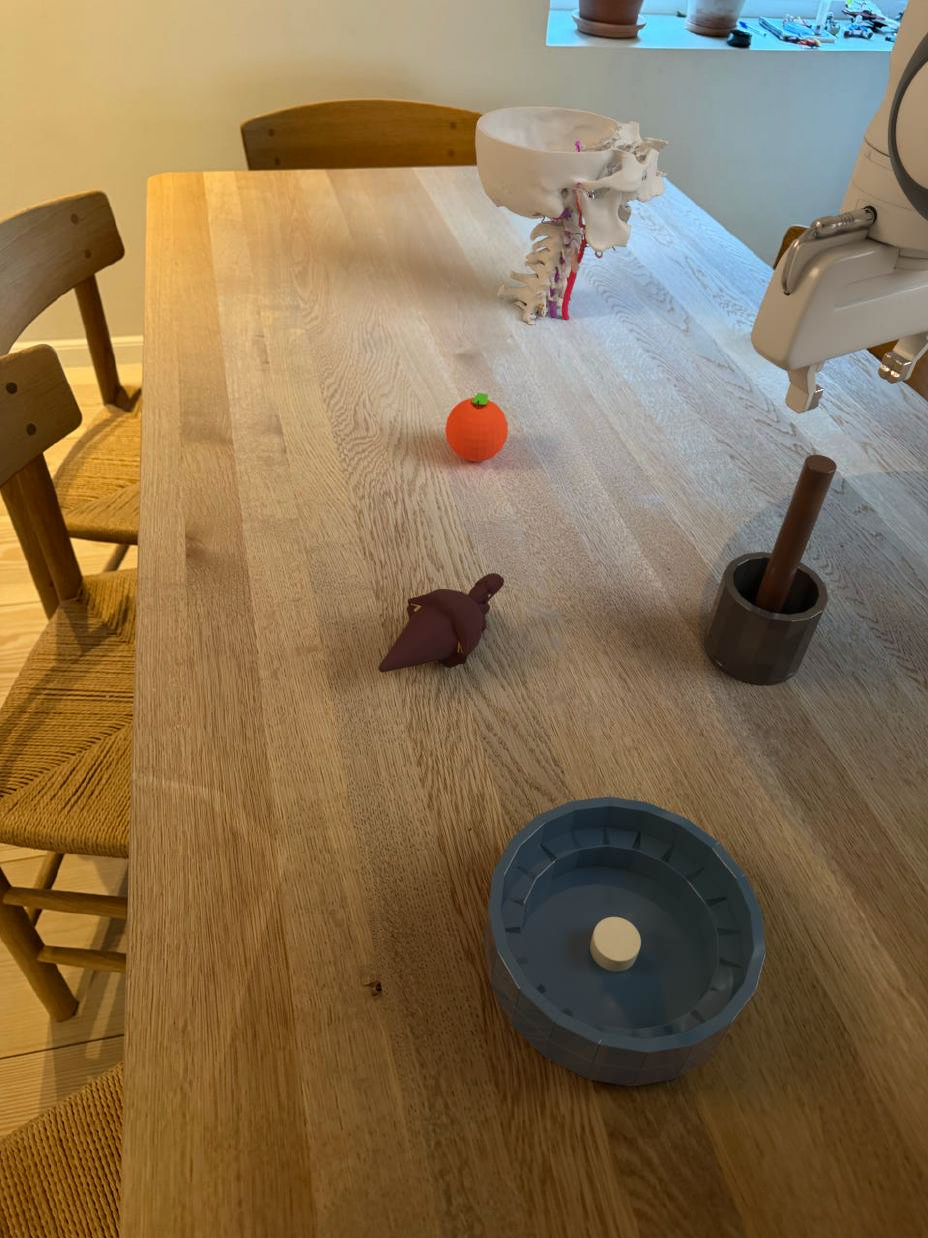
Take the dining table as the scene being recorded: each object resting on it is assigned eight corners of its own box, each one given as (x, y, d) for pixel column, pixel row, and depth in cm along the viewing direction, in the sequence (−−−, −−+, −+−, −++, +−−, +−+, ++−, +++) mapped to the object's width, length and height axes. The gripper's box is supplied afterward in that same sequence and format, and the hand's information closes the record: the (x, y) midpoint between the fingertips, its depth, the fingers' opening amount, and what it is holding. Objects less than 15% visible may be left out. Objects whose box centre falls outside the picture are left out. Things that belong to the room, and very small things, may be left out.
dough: (637, 932, 66) (641, 920, 65) (636, 975, 64) (641, 964, 63) (591, 924, 66) (594, 913, 65) (588, 968, 64) (592, 957, 63)
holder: (794, 623, 91) (820, 558, 85) (805, 691, 84) (834, 627, 79) (701, 611, 91) (721, 546, 86) (705, 678, 85) (727, 612, 79)
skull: (462, 326, 130) (471, 147, 114) (470, 267, 143) (480, 100, 128) (645, 340, 130) (681, 163, 114) (636, 280, 143) (666, 114, 127)
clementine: (453, 429, 111) (456, 375, 107) (511, 439, 111) (517, 384, 106) (438, 468, 106) (440, 412, 101) (499, 478, 105) (504, 422, 100)
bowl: (732, 863, 71) (753, 817, 67) (750, 1111, 59) (778, 1073, 54) (498, 828, 72) (505, 781, 68) (467, 1065, 60) (472, 1024, 56)
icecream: (422, 675, 75) (537, 595, 84) (358, 613, 77) (477, 541, 86) (400, 723, 80) (511, 642, 89) (341, 663, 82) (455, 590, 91)
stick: (765, 637, 88) (834, 456, 74) (767, 656, 86) (839, 474, 72) (739, 634, 88) (803, 452, 74) (741, 652, 87) (807, 470, 73)
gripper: (839, 243, 54) (771, 450, 63) (1064, 192, 62) (973, 382, 71) (762, 203, 57) (708, 404, 67) (983, 159, 65) (907, 344, 75)
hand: (847, 392), depth 69 cm, fingers open, 8 cm apart
